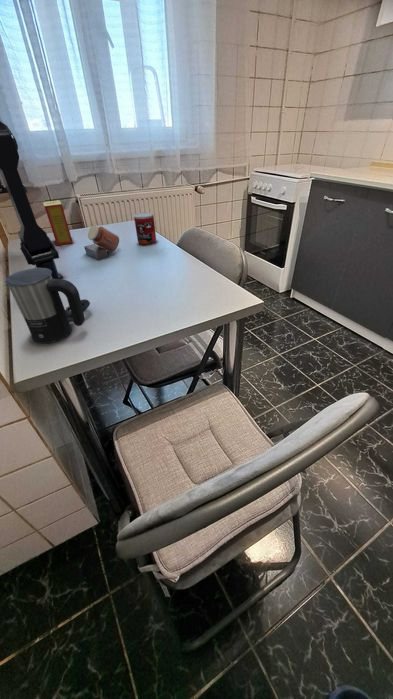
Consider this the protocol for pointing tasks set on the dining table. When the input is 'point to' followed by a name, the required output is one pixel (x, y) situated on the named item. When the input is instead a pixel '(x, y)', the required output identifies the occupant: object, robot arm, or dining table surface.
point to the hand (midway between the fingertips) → (6, 218)
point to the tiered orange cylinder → (103, 238)
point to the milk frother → (46, 303)
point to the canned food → (145, 228)
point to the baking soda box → (58, 222)
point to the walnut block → (96, 251)
